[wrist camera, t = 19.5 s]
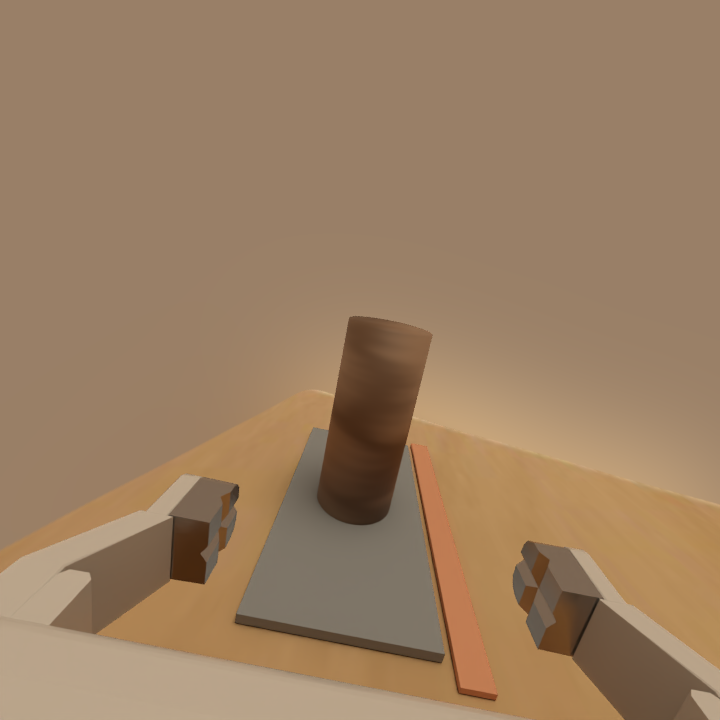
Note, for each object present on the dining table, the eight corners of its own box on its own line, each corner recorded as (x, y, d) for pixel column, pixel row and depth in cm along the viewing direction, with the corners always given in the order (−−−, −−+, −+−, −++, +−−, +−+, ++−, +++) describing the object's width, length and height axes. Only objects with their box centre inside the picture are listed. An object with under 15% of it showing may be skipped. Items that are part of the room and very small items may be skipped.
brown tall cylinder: (388, 483, 26) (425, 327, 23) (391, 532, 21) (439, 342, 18) (323, 470, 25) (352, 313, 23) (311, 516, 21) (345, 323, 18)
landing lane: (425, 449, 33) (427, 444, 33) (495, 699, 14) (499, 691, 13) (314, 427, 33) (315, 422, 33) (225, 647, 14) (226, 638, 13)
